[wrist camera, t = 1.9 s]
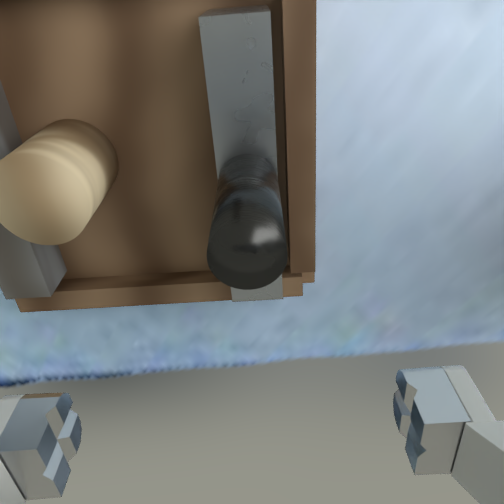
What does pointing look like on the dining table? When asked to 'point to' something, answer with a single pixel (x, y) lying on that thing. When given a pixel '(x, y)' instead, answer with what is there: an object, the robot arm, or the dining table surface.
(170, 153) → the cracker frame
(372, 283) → the dining table surface
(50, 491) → the robot arm
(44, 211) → the beige wooden cylinder
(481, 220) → the dining table surface
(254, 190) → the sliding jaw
